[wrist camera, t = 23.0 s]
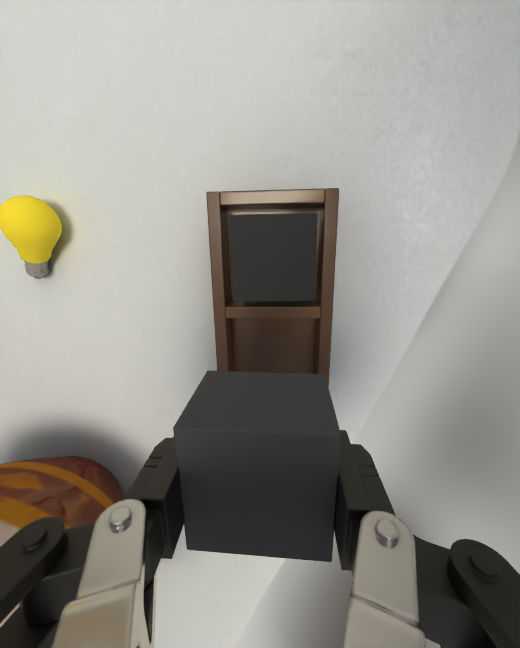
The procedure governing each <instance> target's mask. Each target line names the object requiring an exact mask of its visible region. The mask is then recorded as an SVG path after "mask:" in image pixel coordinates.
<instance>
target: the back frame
mask: <svg viewBox="0 0 520 648" xmlns="http://www.w3.org/2000/svg"><path fill="white" fill-rule="evenodd" d="M338 200H339V188H327V189H293V190H259V191H224V192H207V209H208V226H209V242H210V258H211V274H212V291H213V307H214V323H215V339H216V355H217V371H234V372H269V373H305V374H325V377H326V381H327V384H328V387H329V368H330V349H331V331H332V312H333V293H334V275H335V256H336V237H337V219H338ZM280 213H317V214H318V222H317V252H316V282H315V300H314V301H233V299H232V277H231V255H230V233H229V215H241V214H280Z"/></svg>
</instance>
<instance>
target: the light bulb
mask: <svg viewBox="0 0 520 648" xmlns="http://www.w3.org/2000/svg"><path fill="white" fill-rule="evenodd" d="M0 228H1V230H2V231H3V233H4V235H5V236H6V237H7V238H8V240H9V241H10V242H11V243H12V244H13V246H14V247H15V248H16V249H17V251H18V253H19V255H20V257H21V259H23V260H24V262H25V267H26V272H27V274H28V275H30V276H33V277H34V278H36V279H41V278H42V277H44V276H46V275H47V274H48V273H49V271H48V270H49V269H48V260H49V259H50V258H51V255H52V249H53V248H54V246H55V244H56V243H57V241H58V239H59V238H60V236H61V233H62V224H61V221H60V218H59V217H58V215H57V214H56V212H55V211H54V210H53V209H52V208H51V207H50V206H49V205H48V204H47V203H46V202H44V201H42V200H40V199H37V198H34V197H32V196H16V197H12V198H10V199H8V200H7V201H6V202H4V203H3V204H1V206H0Z"/></svg>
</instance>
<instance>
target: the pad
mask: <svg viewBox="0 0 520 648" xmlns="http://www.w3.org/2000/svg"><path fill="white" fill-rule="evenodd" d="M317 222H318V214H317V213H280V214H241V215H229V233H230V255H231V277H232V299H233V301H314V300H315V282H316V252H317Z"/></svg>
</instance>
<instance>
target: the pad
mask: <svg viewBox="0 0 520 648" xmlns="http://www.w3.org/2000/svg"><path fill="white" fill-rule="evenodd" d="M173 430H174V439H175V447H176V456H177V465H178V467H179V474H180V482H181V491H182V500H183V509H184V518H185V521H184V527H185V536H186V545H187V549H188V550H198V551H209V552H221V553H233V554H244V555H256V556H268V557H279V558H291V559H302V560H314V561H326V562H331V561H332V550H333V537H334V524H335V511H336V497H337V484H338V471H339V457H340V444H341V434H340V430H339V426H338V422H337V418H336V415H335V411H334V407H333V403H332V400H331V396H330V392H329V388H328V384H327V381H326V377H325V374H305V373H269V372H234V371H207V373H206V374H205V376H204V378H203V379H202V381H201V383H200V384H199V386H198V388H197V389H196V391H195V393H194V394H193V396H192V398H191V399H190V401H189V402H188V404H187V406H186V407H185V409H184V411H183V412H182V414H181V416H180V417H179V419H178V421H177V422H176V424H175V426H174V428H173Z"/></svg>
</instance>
